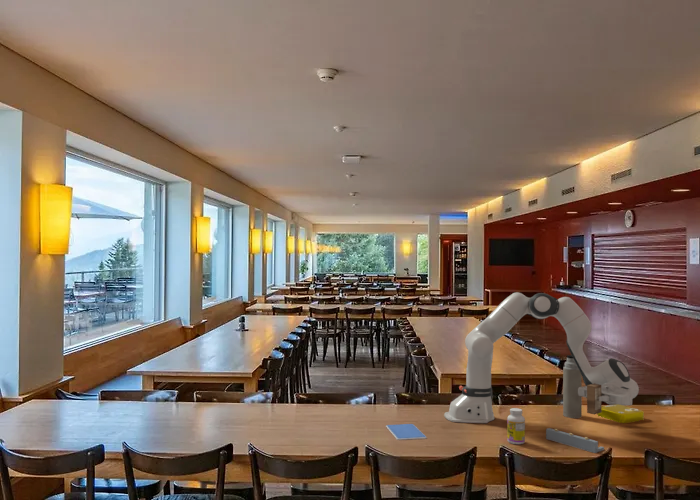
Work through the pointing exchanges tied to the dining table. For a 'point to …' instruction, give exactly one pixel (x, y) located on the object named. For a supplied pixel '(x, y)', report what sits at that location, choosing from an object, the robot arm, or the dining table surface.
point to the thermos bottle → (571, 389)
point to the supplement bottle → (516, 427)
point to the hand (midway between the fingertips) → (593, 397)
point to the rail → (573, 440)
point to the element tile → (621, 413)
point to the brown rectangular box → (593, 399)
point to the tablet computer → (406, 432)
